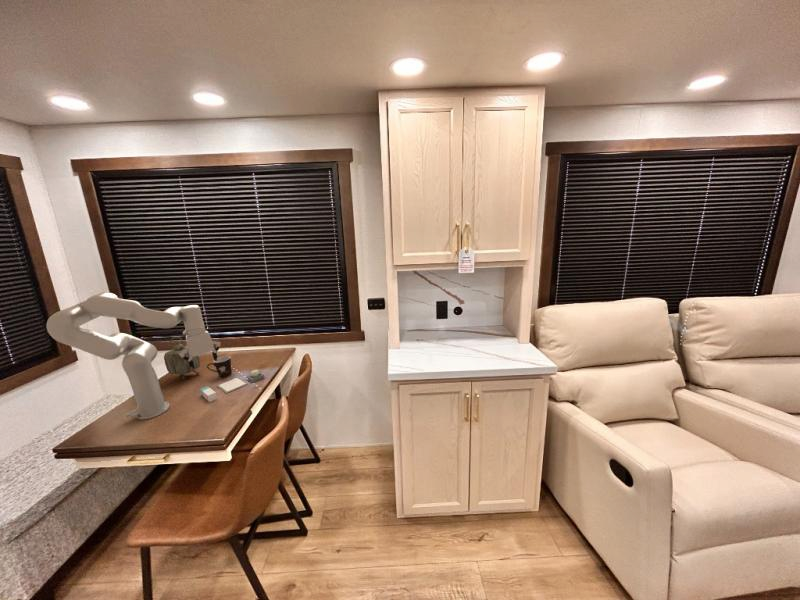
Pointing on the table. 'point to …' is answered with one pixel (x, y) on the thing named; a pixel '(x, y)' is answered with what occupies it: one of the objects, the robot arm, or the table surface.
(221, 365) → the coffee mug
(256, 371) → the button
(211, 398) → the white and teal box
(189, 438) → the table surface
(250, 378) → the button housing
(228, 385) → the cream flat slab
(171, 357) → the olive green backpack
